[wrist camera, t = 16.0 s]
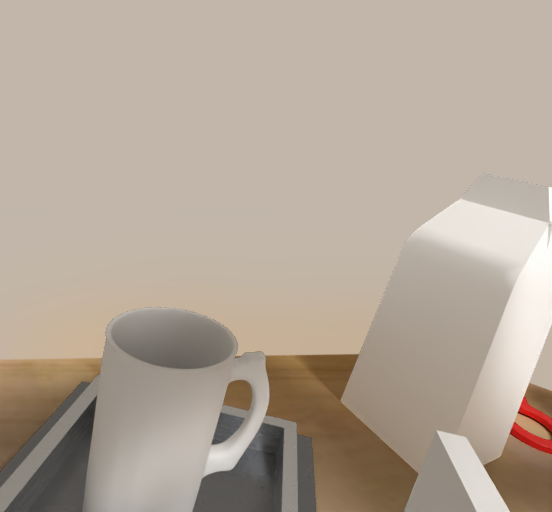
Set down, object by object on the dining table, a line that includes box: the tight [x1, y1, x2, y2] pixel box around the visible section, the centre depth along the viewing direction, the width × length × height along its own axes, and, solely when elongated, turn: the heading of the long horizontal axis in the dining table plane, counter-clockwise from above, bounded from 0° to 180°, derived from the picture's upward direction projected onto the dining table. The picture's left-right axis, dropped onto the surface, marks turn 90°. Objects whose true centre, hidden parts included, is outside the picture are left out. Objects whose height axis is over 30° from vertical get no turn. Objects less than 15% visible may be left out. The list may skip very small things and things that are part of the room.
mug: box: [82, 307, 269, 512], centre depth 24 cm, size 10×7×12 cm, turn 114°
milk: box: [340, 173, 552, 474], centre depth 40 cm, size 12×12×26 cm
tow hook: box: [510, 397, 552, 454], centre depth 47 cm, size 8×13×9 cm
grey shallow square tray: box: [0, 374, 316, 512], centre depth 25 cm, size 20×20×4 cm
